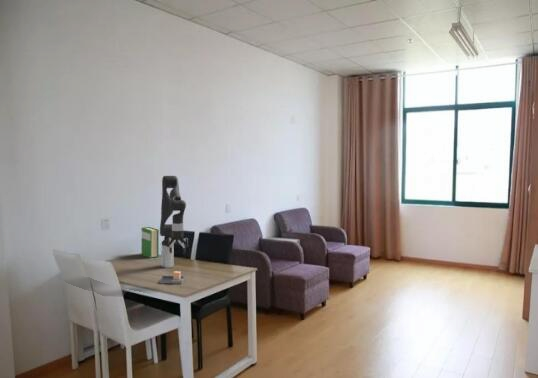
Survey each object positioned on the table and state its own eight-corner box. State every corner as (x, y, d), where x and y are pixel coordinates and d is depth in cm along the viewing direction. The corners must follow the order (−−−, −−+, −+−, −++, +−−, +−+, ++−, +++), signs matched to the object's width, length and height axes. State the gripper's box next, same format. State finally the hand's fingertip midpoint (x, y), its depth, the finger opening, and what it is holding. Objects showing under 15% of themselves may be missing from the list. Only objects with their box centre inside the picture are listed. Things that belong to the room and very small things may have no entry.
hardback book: (158, 257, 340) (158, 229, 338) (150, 258, 335) (150, 230, 334) (149, 253, 353) (149, 226, 352) (141, 254, 348) (141, 227, 347)
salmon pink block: (174, 281, 271) (174, 271, 271) (180, 281, 271) (180, 271, 271) (173, 282, 267) (173, 272, 267) (179, 283, 267) (179, 272, 267)
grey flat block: (162, 279, 273) (162, 275, 273) (184, 280, 273) (184, 276, 273) (159, 283, 265) (159, 279, 265) (181, 283, 265) (181, 279, 265)
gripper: (189, 228, 271) (188, 252, 272) (168, 228, 271) (168, 251, 272) (187, 230, 264) (186, 254, 265) (165, 230, 264) (165, 254, 265)
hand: (177, 253), depth 268 cm, fingers open, 8 cm apart
